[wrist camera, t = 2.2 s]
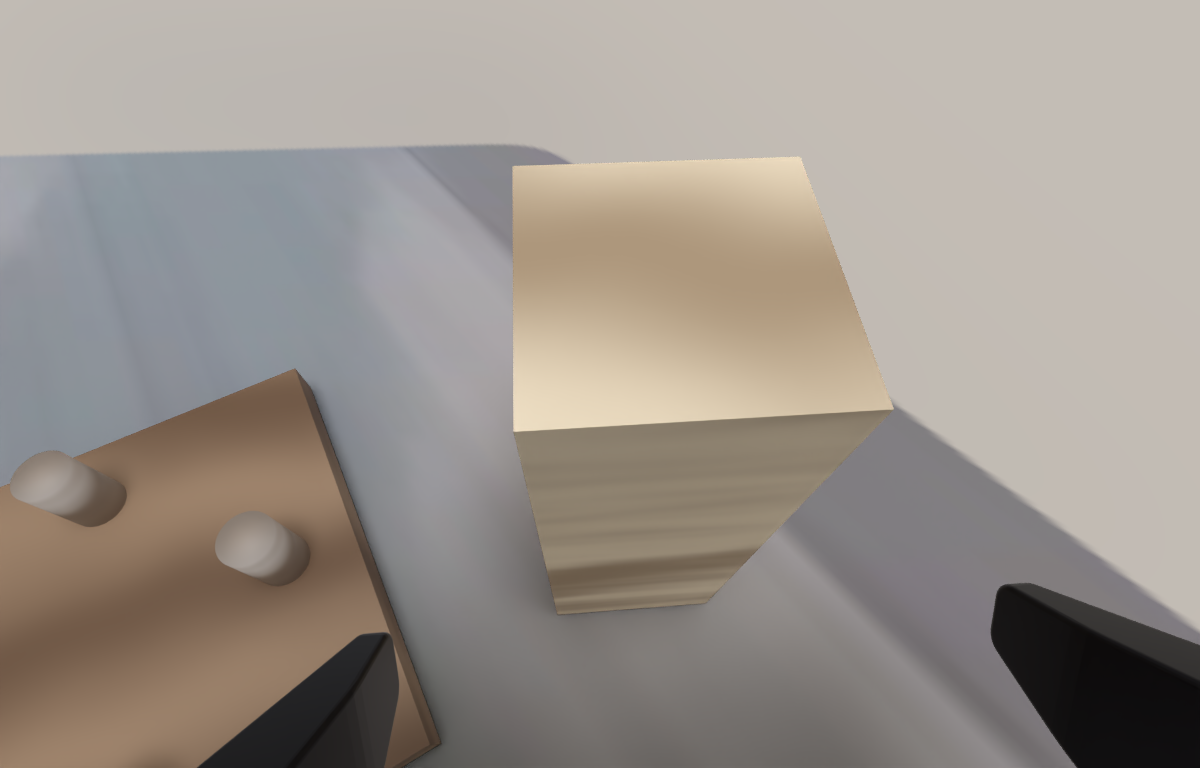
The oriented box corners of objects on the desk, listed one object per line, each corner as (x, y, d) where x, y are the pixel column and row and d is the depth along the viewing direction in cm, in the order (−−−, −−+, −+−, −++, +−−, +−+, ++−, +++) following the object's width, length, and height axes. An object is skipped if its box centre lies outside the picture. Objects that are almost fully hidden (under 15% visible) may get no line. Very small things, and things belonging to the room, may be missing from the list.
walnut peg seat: (441, 743, 18) (406, 747, 14) (-116, 1083, 14) (-347, 1200, 10) (310, 388, 24) (264, 329, 20) (-103, 559, 20) (-247, 524, 17)
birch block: (705, 603, 20) (893, 409, 8) (557, 614, 20) (513, 431, 7) (683, 465, 22) (800, 156, 10) (552, 473, 22) (512, 166, 10)
